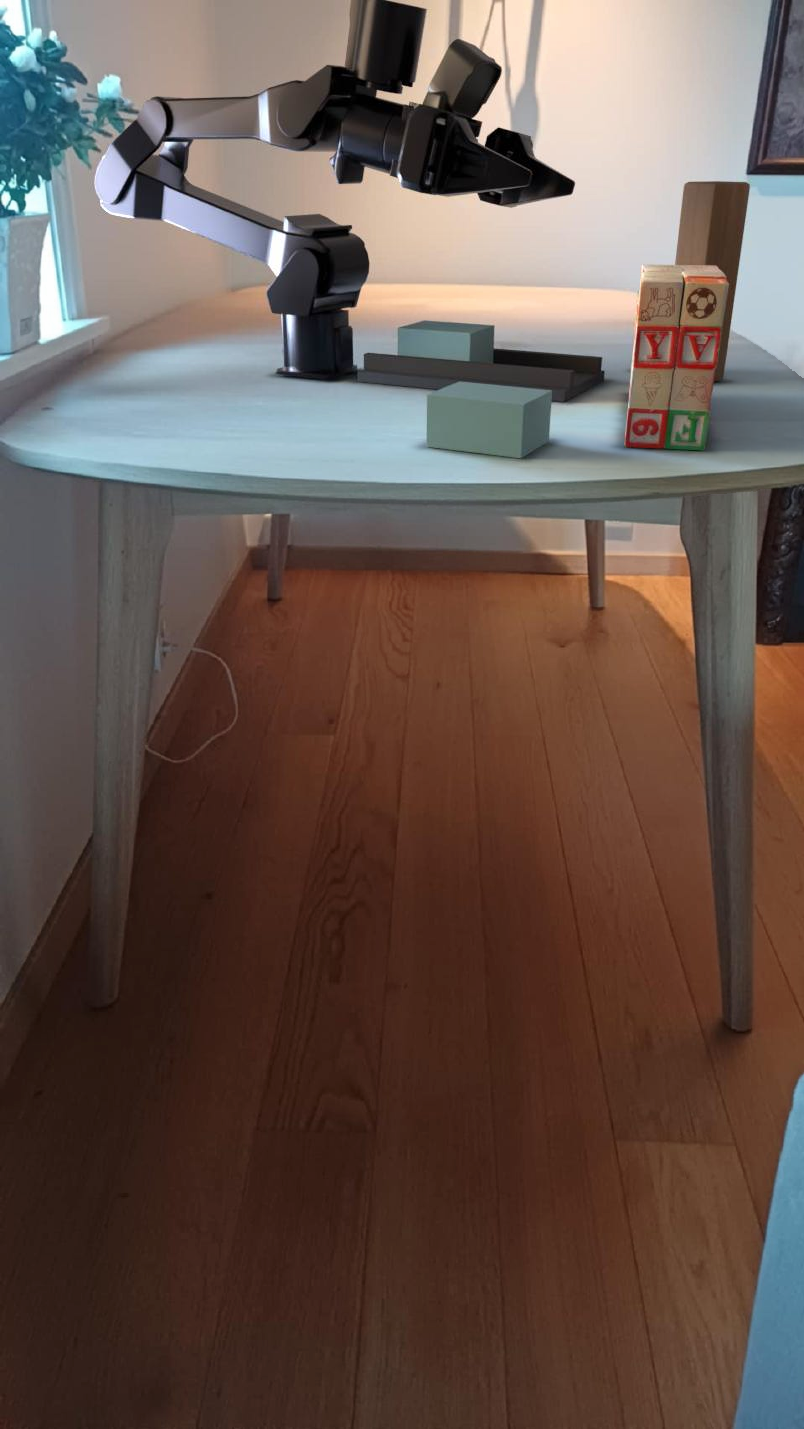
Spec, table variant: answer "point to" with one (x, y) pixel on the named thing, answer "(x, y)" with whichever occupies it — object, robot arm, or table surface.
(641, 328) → the stack of blocks
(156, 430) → the table surface
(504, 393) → the grey-green rectangular block
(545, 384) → the pad jig
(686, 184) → the wooden block
